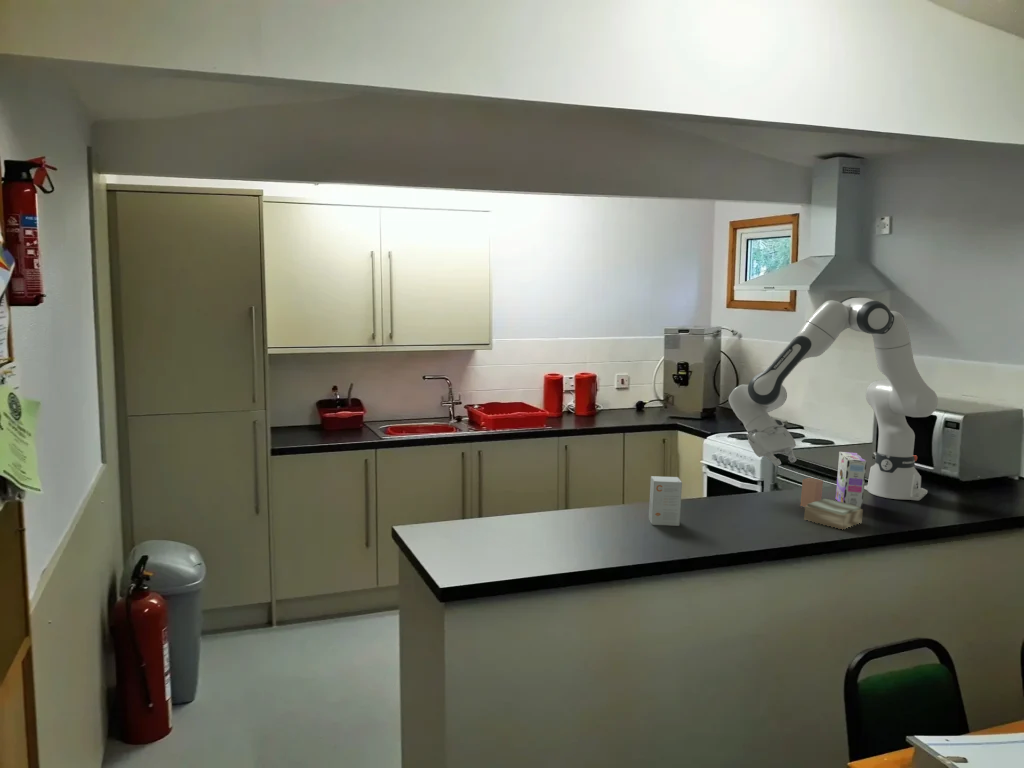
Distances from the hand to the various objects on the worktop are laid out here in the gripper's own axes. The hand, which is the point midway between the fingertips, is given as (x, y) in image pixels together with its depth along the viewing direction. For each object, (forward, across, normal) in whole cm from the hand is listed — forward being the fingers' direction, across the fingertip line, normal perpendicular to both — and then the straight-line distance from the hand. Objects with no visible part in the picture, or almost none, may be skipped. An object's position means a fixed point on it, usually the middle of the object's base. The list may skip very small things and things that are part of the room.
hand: (786, 463), depth 262 cm
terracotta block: (+16, 0, +2) cm, 16 cm away
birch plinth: (+24, -9, -6) cm, 26 cm away
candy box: (+20, +13, -2) cm, 24 cm away
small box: (+4, -53, +14) cm, 55 cm away
